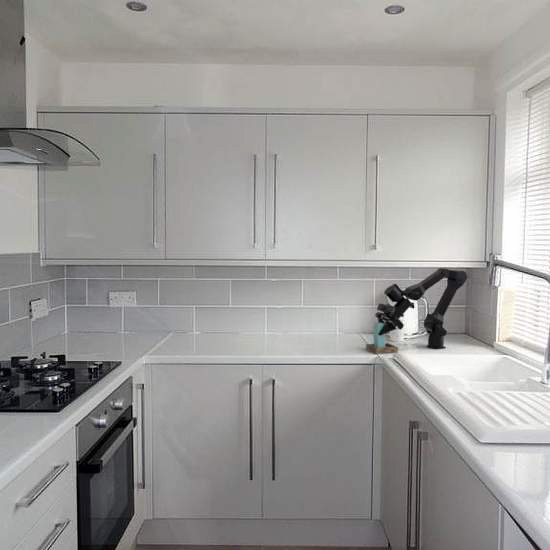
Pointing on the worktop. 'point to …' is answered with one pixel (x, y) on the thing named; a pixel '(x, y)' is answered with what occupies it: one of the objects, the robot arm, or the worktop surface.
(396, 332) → the white cup
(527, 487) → the worktop surface
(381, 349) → the tray
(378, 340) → the peg
